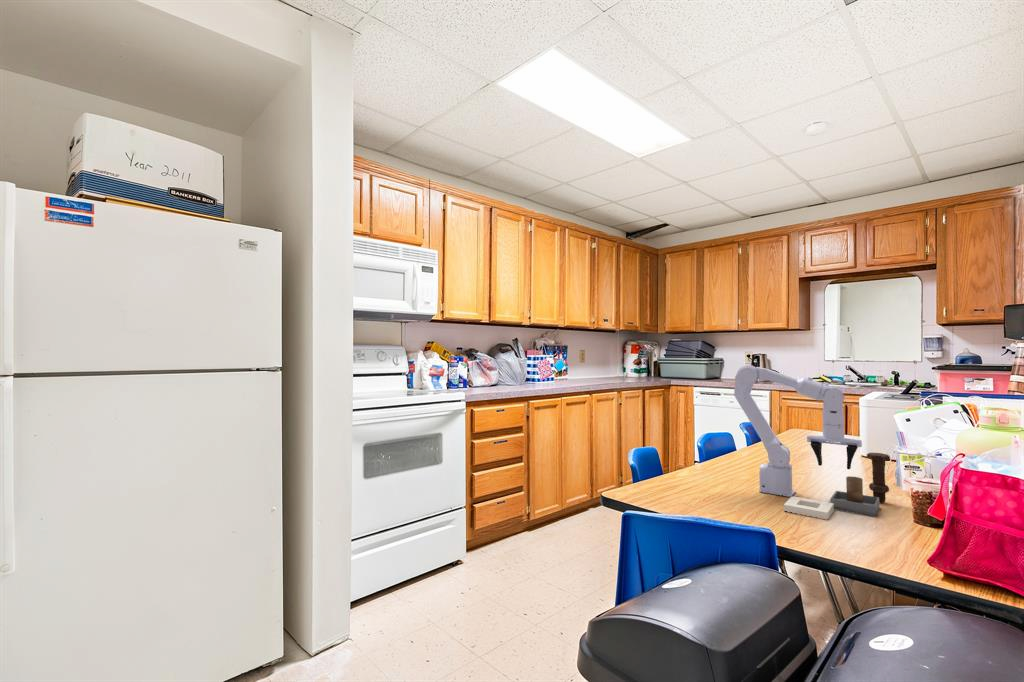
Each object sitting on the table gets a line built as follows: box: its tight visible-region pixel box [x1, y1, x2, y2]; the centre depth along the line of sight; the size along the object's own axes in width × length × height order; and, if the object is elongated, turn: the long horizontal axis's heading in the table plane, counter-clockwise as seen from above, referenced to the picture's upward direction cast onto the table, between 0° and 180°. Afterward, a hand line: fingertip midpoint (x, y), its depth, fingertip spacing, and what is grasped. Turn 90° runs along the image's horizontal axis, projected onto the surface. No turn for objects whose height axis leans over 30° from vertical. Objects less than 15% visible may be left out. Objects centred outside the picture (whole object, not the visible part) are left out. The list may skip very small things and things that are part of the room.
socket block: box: [783, 495, 835, 521], centre depth 143 cm, size 11×11×2 cm
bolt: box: [866, 452, 891, 504], centre depth 151 cm, size 6×5×15 cm
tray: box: [829, 490, 880, 517], centre depth 145 cm, size 11×11×3 cm
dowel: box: [845, 476, 864, 504], centre depth 145 cm, size 4×4×8 cm
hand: (834, 466), depth 154 cm, fingers open, 7 cm apart
